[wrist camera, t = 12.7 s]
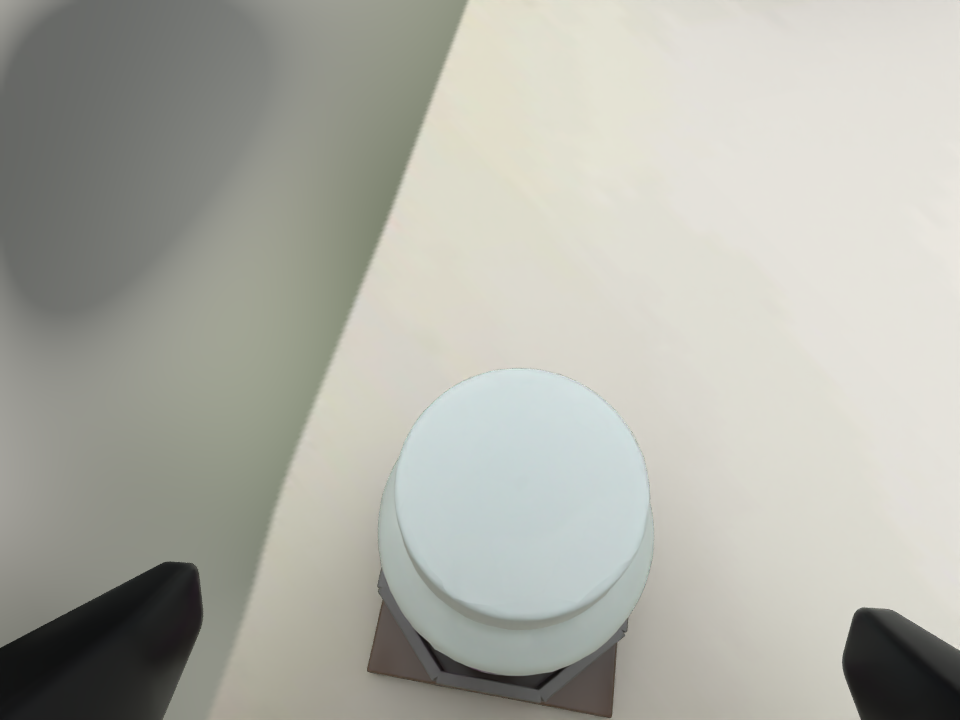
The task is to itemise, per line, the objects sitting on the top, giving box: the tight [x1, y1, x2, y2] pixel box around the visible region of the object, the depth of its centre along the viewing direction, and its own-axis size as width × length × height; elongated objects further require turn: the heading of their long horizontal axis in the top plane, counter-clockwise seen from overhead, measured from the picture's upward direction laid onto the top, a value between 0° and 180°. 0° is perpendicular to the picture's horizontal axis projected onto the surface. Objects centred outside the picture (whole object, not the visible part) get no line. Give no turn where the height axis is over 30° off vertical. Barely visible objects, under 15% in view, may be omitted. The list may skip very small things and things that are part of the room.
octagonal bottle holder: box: [367, 567, 628, 718], centre depth 18 cm, size 7×7×2 cm
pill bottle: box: [378, 368, 654, 676], centre depth 14 cm, size 5×5×10 cm
